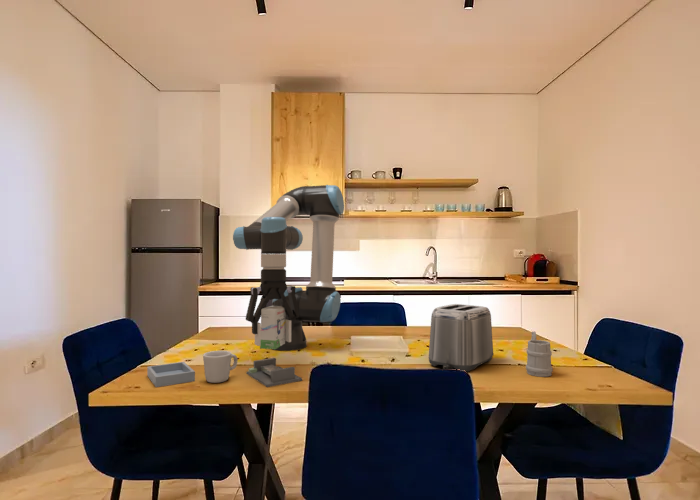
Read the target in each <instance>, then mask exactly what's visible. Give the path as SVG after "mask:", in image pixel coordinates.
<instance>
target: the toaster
mask: <svg viewBox="0 0 700 500" xmlns="http://www.w3.org/2000/svg"><path fill="white" fill-rule="evenodd" d="M430 320H431V321H430V332H429V345H428V347H429V348H428V362H429V365H430V366H433V367H436V366H439V365H441V366H442V370H443V369H460V370H465V371H464V372H470V371H473V370H475V369H476V368H477V367H478V366H480V365H482V364H484V363H486V362H487V363H488V362H490V361H491V360H492V359H493V356H494V345H493V344H494V342H493V330H492V329H493V327H492V326H493V325H492V314H491V311H490V309H489V308H488V307H487V306H481V305H471V304H462V303H461V304H460V303H454V304H446V305H442V306H438V307H434V309H433V310H432V313H431V318H430Z"/></svg>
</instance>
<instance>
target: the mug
mask: <svg viewBox="0 0 700 500" xmlns="http://www.w3.org/2000/svg"><path fill="white" fill-rule="evenodd" d="M526 354H527V355H526V357H527V360H526V365H525V370H526V373H527V375H530V376H533V377H537V378H538V377H539V378H548V377H551V376H552V372H554V371H553V369H554V367H552V350H551V342H550V341H548V340H543V339H537V332H536V331H534V330H533V331H531V338H530V340H528V341H527V349H526Z"/></svg>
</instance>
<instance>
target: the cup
mask: <svg viewBox="0 0 700 500" xmlns="http://www.w3.org/2000/svg"><path fill="white" fill-rule="evenodd" d="M232 358H233V362H231V361H232ZM202 360H203V367H204V377H205V380H206V381H207V382H208V383H213V384H217V383H224V382H226V381H227V380H228V379H229V378H230V374H231V373H230V371H233V370H234V369H236V368H237V366H238V356H237V355H236V354H234V353H232V352H231V351H228V350H212V351H207V352H204V353H203V355H202ZM231 363H232V365H231Z"/></svg>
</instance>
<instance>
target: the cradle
mask: <svg viewBox="0 0 700 500" xmlns="http://www.w3.org/2000/svg"><path fill="white" fill-rule="evenodd" d="M272 364H273V365H275V366H277V358H276V357H269V358H263V359H258V360H257V359H256V360H253V367H248V371H246V375H248V376H249V377H251V379H253V380H256V381H257V382H258V383H260V384H261V385H263V386H265V387H266V388H269V387H276V386H280V385H287V384H291V383H296V382H302V381H303V378H302V377H301V376H299V375H296V372H295V371H296V367H294V366H290V367H285V368H283V367H281V366H277V367H279V368H281V369H276V370H271V376H270V375H268V374H267V373H265V372H263V371H261V366H266V365H272Z"/></svg>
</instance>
